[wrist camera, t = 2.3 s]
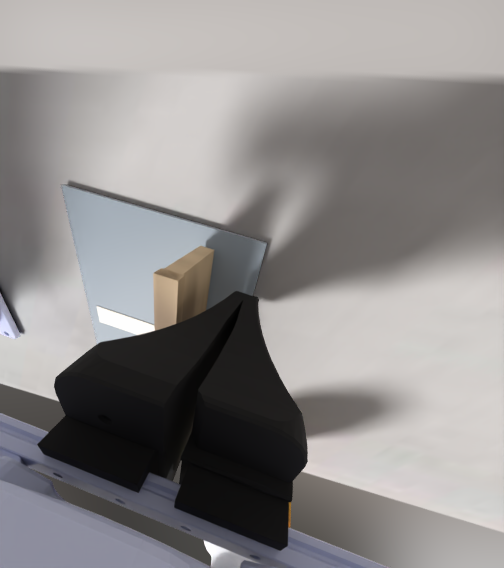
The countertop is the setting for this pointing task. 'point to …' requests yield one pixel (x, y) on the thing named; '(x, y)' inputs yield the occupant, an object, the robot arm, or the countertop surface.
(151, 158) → the countertop surface
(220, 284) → the card
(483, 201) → the countertop surface
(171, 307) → the wooden flat block
